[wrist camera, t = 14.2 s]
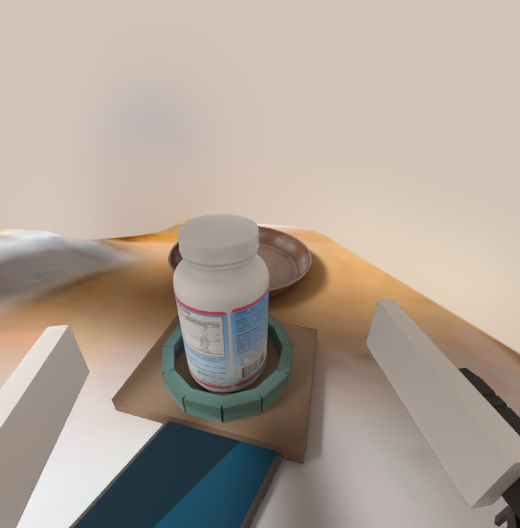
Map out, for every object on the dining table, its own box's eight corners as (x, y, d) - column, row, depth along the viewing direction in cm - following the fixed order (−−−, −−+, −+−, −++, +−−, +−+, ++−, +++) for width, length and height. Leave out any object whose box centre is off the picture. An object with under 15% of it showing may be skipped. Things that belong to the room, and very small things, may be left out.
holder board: (116, 410, 19) (106, 385, 18) (186, 314, 28) (183, 293, 26) (302, 463, 16) (307, 439, 15) (315, 339, 25) (319, 316, 24)
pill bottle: (253, 326, 25) (254, 206, 19) (277, 383, 20) (288, 243, 14) (184, 341, 23) (163, 213, 17) (191, 407, 18) (165, 258, 12)
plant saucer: (304, 244, 43) (306, 226, 42) (317, 320, 28) (321, 296, 26) (193, 239, 44) (191, 221, 42) (147, 310, 29) (142, 286, 27)
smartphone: (-59, 682, 10) (-74, 679, 10) (207, 382, 21) (206, 374, 21) (43, 966, 7) (28, 982, 6) (294, 434, 18) (296, 426, 18)
